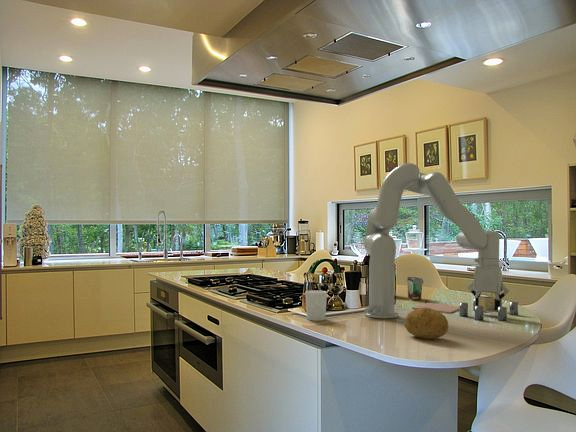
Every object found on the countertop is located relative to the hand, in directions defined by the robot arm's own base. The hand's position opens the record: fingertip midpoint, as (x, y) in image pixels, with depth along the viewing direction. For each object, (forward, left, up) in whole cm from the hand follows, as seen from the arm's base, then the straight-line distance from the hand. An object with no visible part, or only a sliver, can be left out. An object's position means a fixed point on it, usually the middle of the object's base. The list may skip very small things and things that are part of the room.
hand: (487, 308), depth 184 cm
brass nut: (0, 0, -1) cm, 1 cm away
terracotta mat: (+2, +21, -3) cm, 21 cm away
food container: (+21, +39, -3) cm, 44 cm away
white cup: (-51, +46, -3) cm, 68 cm away
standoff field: (0, 0, -3) cm, 3 cm away
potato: (-53, +3, -3) cm, 53 cm away
